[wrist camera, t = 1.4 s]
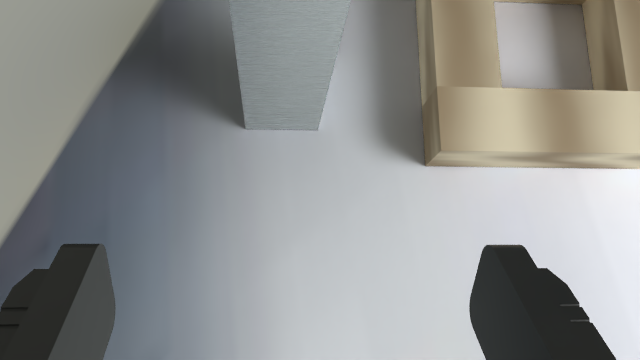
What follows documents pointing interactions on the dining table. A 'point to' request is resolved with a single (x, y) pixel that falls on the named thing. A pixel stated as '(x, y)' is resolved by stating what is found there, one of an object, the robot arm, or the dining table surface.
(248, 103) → the plain gray rectangular block
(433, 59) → the well block
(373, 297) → the dining table surface
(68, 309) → the robot arm
